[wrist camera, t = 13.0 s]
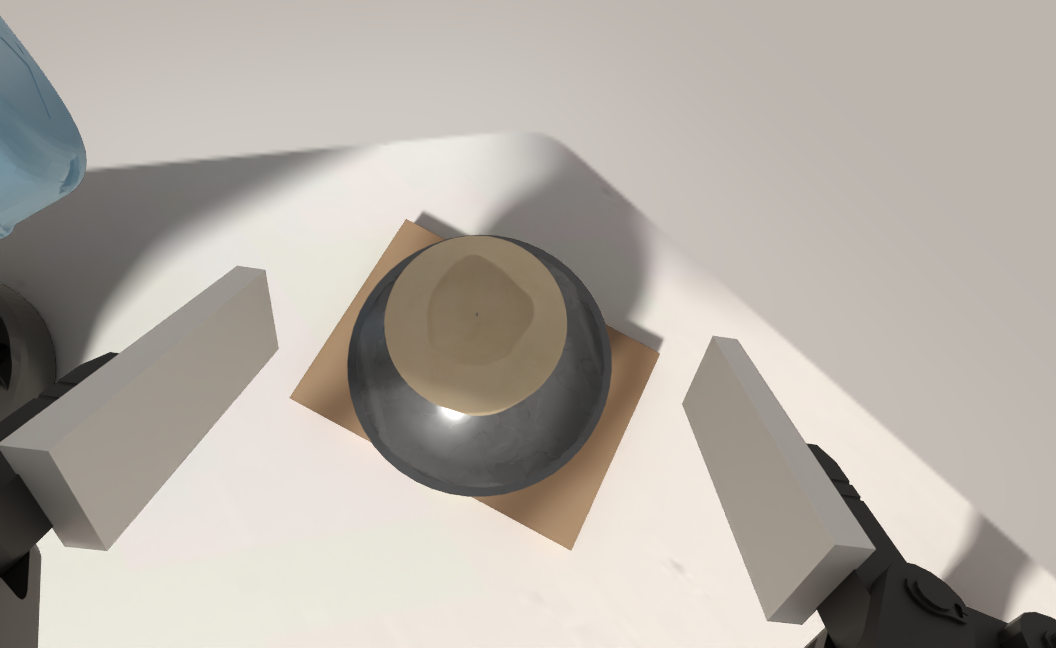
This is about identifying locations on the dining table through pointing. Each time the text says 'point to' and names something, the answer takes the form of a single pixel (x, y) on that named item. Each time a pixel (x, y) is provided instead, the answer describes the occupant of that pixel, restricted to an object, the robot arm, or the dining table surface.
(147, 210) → the dining table surface
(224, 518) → the dining table surface
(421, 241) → the wooden board
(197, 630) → the dining table surface
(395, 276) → the round metal tin
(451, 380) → the candle
